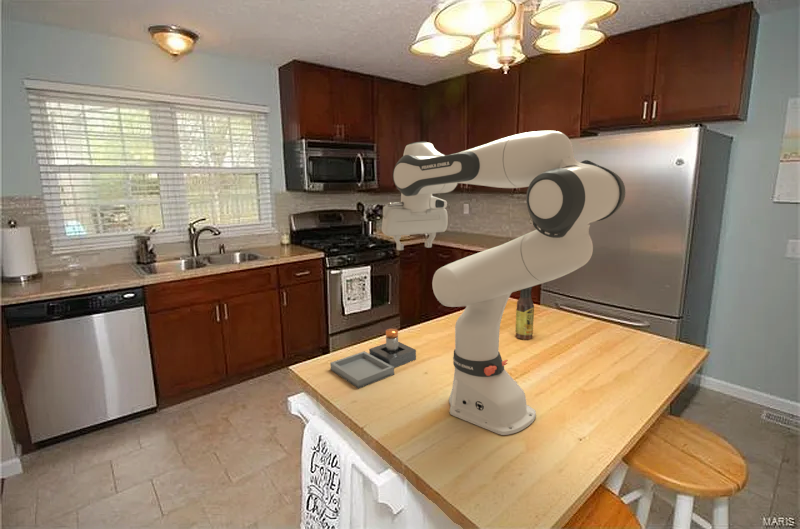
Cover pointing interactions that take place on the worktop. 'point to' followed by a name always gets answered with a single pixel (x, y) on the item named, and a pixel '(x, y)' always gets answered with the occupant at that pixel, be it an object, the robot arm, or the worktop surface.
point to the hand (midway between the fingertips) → (414, 248)
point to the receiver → (397, 358)
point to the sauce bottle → (524, 315)
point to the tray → (362, 369)
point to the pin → (392, 341)
